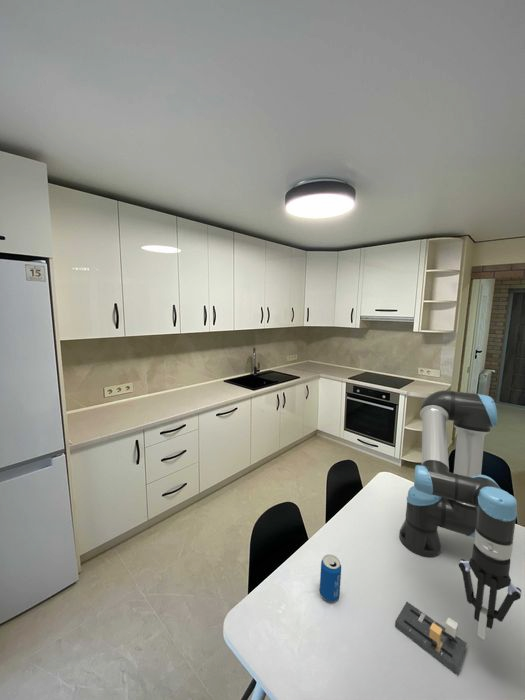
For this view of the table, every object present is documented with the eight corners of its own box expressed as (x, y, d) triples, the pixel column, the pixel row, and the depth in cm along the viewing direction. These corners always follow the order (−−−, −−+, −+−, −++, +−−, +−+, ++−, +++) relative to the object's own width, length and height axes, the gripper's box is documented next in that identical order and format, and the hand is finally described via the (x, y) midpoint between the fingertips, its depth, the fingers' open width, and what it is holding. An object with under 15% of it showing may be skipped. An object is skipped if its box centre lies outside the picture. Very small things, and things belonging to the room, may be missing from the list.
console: (394, 626, 86) (395, 620, 86) (406, 607, 92) (406, 601, 92) (457, 675, 75) (458, 668, 74) (466, 649, 81) (466, 642, 81)
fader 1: (428, 642, 80) (430, 628, 80) (431, 636, 82) (432, 622, 81) (438, 649, 78) (439, 635, 78) (440, 643, 80) (442, 629, 80)
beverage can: (328, 607, 91) (330, 572, 90) (315, 590, 97) (317, 557, 96) (343, 598, 94) (345, 565, 93) (330, 582, 100) (332, 550, 99)
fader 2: (444, 636, 82) (445, 623, 81) (446, 630, 83) (448, 617, 83) (454, 643, 80) (455, 629, 80) (456, 637, 82) (458, 623, 81)
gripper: (458, 542, 76) (449, 624, 78) (524, 575, 67) (512, 667, 69) (464, 529, 81) (456, 606, 83) (527, 558, 72) (516, 644, 74)
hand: (481, 634), depth 76 cm, fingers closed
